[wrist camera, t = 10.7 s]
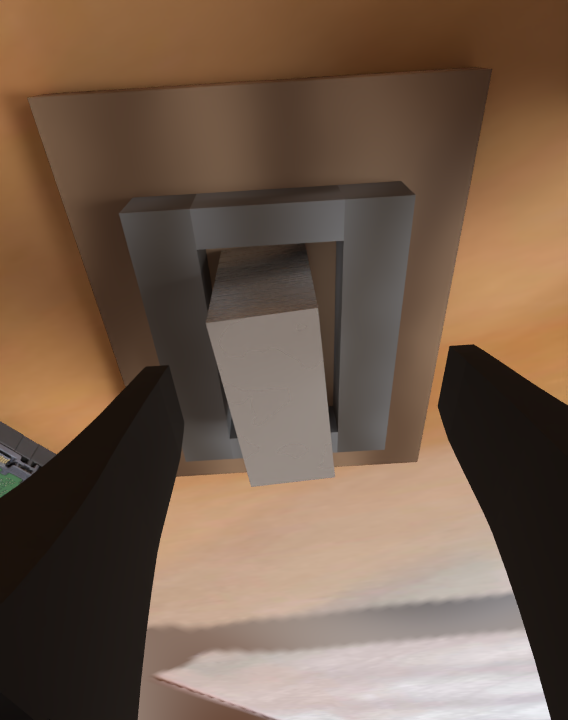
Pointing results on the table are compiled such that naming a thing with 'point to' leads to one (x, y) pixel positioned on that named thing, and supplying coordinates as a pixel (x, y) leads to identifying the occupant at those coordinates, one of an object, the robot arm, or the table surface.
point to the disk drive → (19, 458)
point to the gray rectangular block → (272, 362)
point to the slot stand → (276, 231)
